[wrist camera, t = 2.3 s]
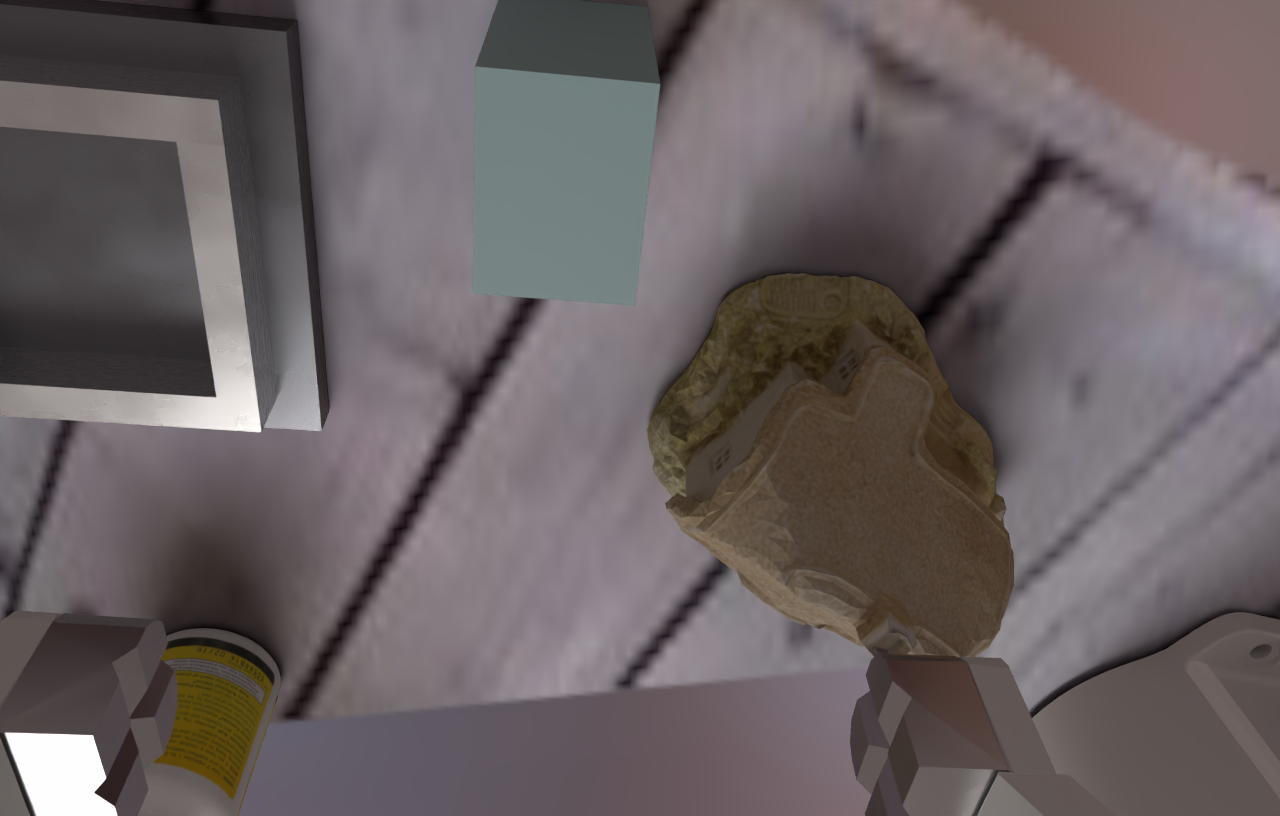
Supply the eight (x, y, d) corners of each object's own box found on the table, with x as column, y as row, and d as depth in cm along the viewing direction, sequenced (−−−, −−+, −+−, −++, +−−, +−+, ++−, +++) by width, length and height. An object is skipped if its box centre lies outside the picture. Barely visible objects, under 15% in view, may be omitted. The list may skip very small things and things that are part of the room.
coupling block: (648, 6, 28) (660, 84, 22) (628, 194, 31) (635, 305, 25) (501, -9, 28) (474, 66, 22) (496, 183, 31) (472, 293, 25)
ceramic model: (579, 436, 36) (574, 650, 28) (806, 212, 32) (879, 389, 23) (846, 612, 42) (907, 834, 34) (1072, 443, 37) (1207, 652, 29)
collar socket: (297, 20, 28) (265, 53, 25) (329, 410, 35) (307, 467, 32) (-211, -29, 27) (-300, -1, 24) (-69, 384, 34) (-125, 441, 31)
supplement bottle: (138, 618, 40) (23, 845, 32) (278, 626, 41) (200, 852, 33) (157, 707, 43) (57, 935, 35) (287, 714, 44) (217, 940, 36)
